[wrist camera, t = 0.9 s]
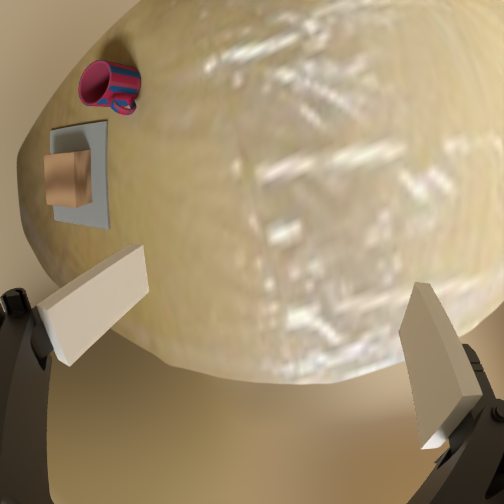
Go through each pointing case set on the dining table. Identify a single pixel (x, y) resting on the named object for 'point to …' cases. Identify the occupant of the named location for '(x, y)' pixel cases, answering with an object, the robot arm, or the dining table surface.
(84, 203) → the base block
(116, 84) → the mug
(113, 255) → the robot arm
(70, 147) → the mat
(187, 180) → the dining table surface
